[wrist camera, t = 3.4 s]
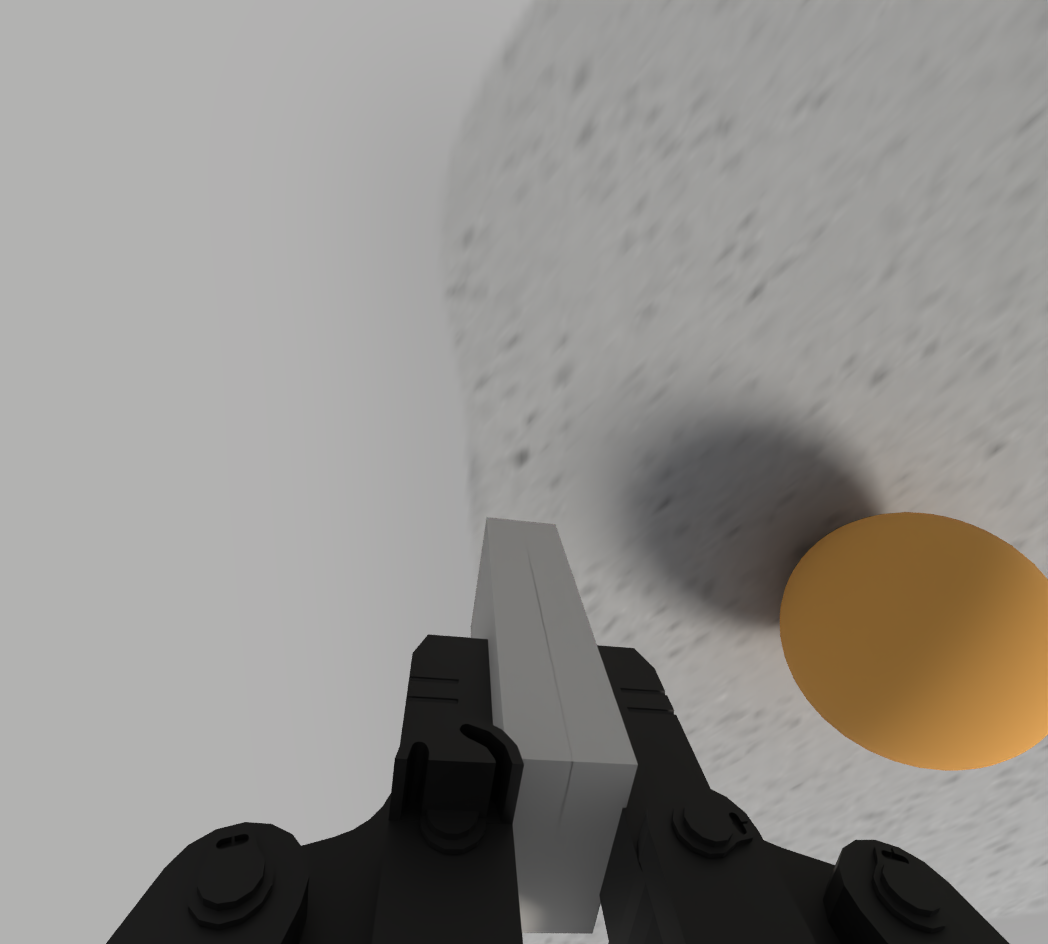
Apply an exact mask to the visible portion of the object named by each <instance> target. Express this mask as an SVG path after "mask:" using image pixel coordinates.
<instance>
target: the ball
mask: <svg viewBox="0 0 1048 944" xmlns="http://www.w3.org/2000/svg"><path fill="white" fill-rule="evenodd" d="M780 637H781V642H782V647H783V651H784V655H785V658H786V661H787V664H788V666H789V669H790V671H791V673H792V675H793V678H794V680H795V681H796V683H797V685H798V686H799V688H800V690H801V691H802V693H803V694H804V696H805V697H806V699H807V700H808V701H809V702H810V704H811V705H812V706H813V707H814V708H815V709H816V711H817V712H818V713H819V714H820V715H821V716H822V717H823V718H824V719H825V720H826V721H827V722H828V723H830V724H831V725H832V726H833V727H834V728H836V729H837V730H838V731H839V732H840V733H842V734H843V735H844V736H845V737H847V738H849V739H850V740H852V741H854V742H855V743H857V744H859V745H860V746H862V747H864V748H865V749H867V750H869V751H871V752H873V753H876V754H878V755H880V756H883V757H885V758H888V759H890V760H893V761H896V762H900V763H903V764H907V765H911V766H915V767H919V768H927V769H936V770H967V769H976V768H983V767H987V766H991V765H994V764H997V763H1001V762H1003V761H1006V760H1009V759H1011V758H1013V757H1016V756H1018V755H1020V754H1022V753H1024V752H1025V751H1027V750H1029V749H1030V748H1032V747H1033V746H1035V745H1036V744H1037V743H1039V742H1040V741H1041V740H1042V739H1043V738H1044V737H1046V736H1047V735H1048V579H1047V578H1046V577H1045V576H1044V575H1043V574H1042V572H1041V571H1040V570H1039V569H1038V568H1037V567H1036V566H1035V564H1034V563H1032V562H1031V561H1030V560H1029V559H1028V558H1026V557H1025V556H1024V555H1023V554H1022V553H1020V552H1019V551H1018V550H1017V549H1015V548H1014V547H1013V546H1012V545H1010V544H1008V543H1007V542H1005V541H1003V540H1002V539H1000V538H998V537H997V536H995V535H993V534H991V533H989V532H987V531H985V530H983V529H981V528H978V527H976V526H974V525H971V524H968V523H965V522H963V521H960V520H956V519H952V518H948V517H944V516H939V515H934V514H925V513H911V512H902V513H890V514H880V515H875V516H870V517H867V518H863V519H860V520H857V521H854V522H851V523H849V524H846V525H844V526H842V527H840V528H838V529H836V530H834V531H833V532H831V533H829V534H828V535H826V536H825V537H824V538H822V539H821V540H820V541H818V542H817V543H816V544H815V545H814V546H813V547H812V548H811V549H809V551H808V552H807V553H806V554H805V555H804V556H803V557H802V558H801V560H800V561H799V563H798V564H797V565H796V567H795V568H794V570H793V572H792V574H791V576H790V577H789V580H788V582H787V585H786V587H785V591H784V595H783V599H782V603H781V609H780Z"/></svg>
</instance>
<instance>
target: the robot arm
mask: <svg viewBox="0 0 1048 944" xmlns="http://www.w3.org/2000/svg"><path fill="white" fill-rule="evenodd" d="M600 903H601V906H602V911H603V915H604V920H605V925H606V929H607V934H608V939H609V943H608V944H1009V943H1008V942H1007V941H1006V940H1005V939H1004V938H1003V937H1002V936H1001V935H1000V934H999V933H998V932H997V931H996V930H995V929H994V928H993V927H992V926H991V925H990V924H989V923H988V922H987V921H986V920H985V919H984V918H983V917H982V916H981V915H980V914H979V913H978V912H977V911H976V910H975V909H974V908H973V907H972V906H971V905H970V904H969V903H968V902H967V901H966V900H965V899H964V898H963V896H962V895H961V894H960V893H959V892H958V891H957V890H956V889H955V888H954V887H953V886H952V885H951V884H950V883H949V882H947V881H946V880H945V879H944V878H943V877H941V876H940V875H939V874H938V873H937V872H935V871H934V870H933V869H932V868H931V867H930V866H928V865H927V864H926V863H925V862H923V861H921V860H920V859H918V858H916V857H914V856H913V855H911V854H909V853H907V852H906V851H904V850H902V849H901V848H899V847H896V846H892V845H889V844H886V843H883V842H880V841H877V840H855V841H853V842H852V843H850V844H848V845H847V846H845V847H844V848H842V851H841V853H840V855H839V858H838V860H837V862H836V865H832V864H829V863H826V862H823V861H820V860H817V859H814V858H811V857H808V856H805V855H802V854H799V853H796V852H793V851H790V850H787V849H784V848H781V847H779V846H776V845H774V844H771V843H769V842H767V841H764V840H763V839H762V837H761V835H760V833H759V831H758V830H757V828H756V827H755V826H754V824H753V823H752V821H751V820H750V819H749V817H748V816H747V814H746V813H745V812H744V811H743V810H741V809H740V808H739V807H738V806H737V805H735V804H734V803H733V802H732V801H731V800H729V799H728V798H727V797H725V796H723V795H721V794H719V793H717V792H715V791H713V790H711V789H710V787H709V784H708V782H707V780H706V778H705V776H704V774H703V772H702V769H701V767H700V765H699V763H698V761H697V759H696V757H695V754H694V752H693V750H692V748H691V746H690V744H689V742H688V739H687V737H686V735H685V733H684V731H683V729H682V727H681V724H680V722H679V720H678V718H677V716H676V715H674V709H673V707H672V705H671V703H670V701H669V699H668V696H667V695H665V690H664V688H663V686H662V684H661V681H660V679H659V677H658V675H657V673H656V671H655V669H654V667H652V666H651V665H650V664H649V663H648V662H647V661H646V660H645V659H644V658H643V657H642V656H641V655H640V654H639V653H638V652H637V651H636V650H635V649H634V648H624V647H611V646H598V645H597V644H596V641H595V638H594V635H593V633H592V630H591V627H590V624H589V621H588V618H587V615H586V612H585V609H584V606H583V603H582V600H581V598H580V595H579V592H578V589H577V586H576V583H575V580H574V577H573V574H572V571H571V568H570V566H569V563H568V560H567V557H566V554H565V551H564V548H563V545H562V542H561V539H560V536H559V534H558V531H557V528H556V525H555V524H545V523H536V522H526V521H517V520H507V519H498V518H488V517H487V519H486V526H485V533H484V540H483V547H482V553H481V560H480V567H479V574H478V581H477V588H476V595H475V602H474V609H473V616H472V623H471V638H466V637H452V636H439V635H427V637H426V638H425V639H424V640H423V641H422V643H421V644H420V645H419V646H418V648H417V649H416V650H415V651H414V652H413V656H412V662H411V669H410V677H409V684H408V691H407V699H406V706H405V713H404V721H403V727H402V735H401V742H400V747H399V750H398V752H397V755H396V758H395V763H394V772H393V782H392V792H391V794H390V796H389V797H388V799H387V800H386V802H385V804H384V805H383V807H382V808H381V809H380V810H379V811H378V812H377V813H376V814H375V815H374V816H373V817H372V818H371V819H369V820H368V821H366V822H365V823H363V824H362V825H360V826H358V827H357V828H355V829H354V830H351V831H349V832H346V833H343V834H341V835H338V836H336V837H332V838H329V839H325V840H321V841H318V842H314V843H310V844H307V845H303V846H301V845H300V844H299V843H298V842H297V840H296V839H295V837H294V836H293V835H292V834H291V833H289V832H286V831H285V830H283V829H281V828H278V827H276V826H274V825H272V824H263V823H249V822H244V823H240V824H236V825H233V826H228V827H224V828H220V829H216V830H214V831H213V832H211V833H209V834H207V835H205V836H204V837H202V838H200V839H198V840H196V841H195V842H193V843H191V844H189V845H188V846H187V847H186V848H185V849H184V850H183V851H182V852H181V853H180V854H179V855H177V857H175V858H174V859H173V860H172V861H171V862H170V863H169V864H168V865H167V866H166V867H165V868H164V869H163V871H162V872H161V873H160V875H159V876H158V877H157V879H156V880H155V881H154V882H153V884H152V885H151V886H150V887H149V889H148V890H147V891H146V893H145V894H144V895H143V897H142V898H141V899H140V900H139V902H138V903H137V904H136V906H135V907H134V908H133V910H132V911H131V912H130V913H129V915H128V916H127V917H126V918H125V920H124V921H123V923H122V924H121V925H120V926H119V928H118V929H117V930H116V931H115V933H114V934H113V935H112V937H111V938H110V939H109V940H108V942H107V943H106V944H523V940H522V933H593V929H594V926H595V922H596V918H597V914H598V911H599V907H600Z"/></svg>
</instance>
